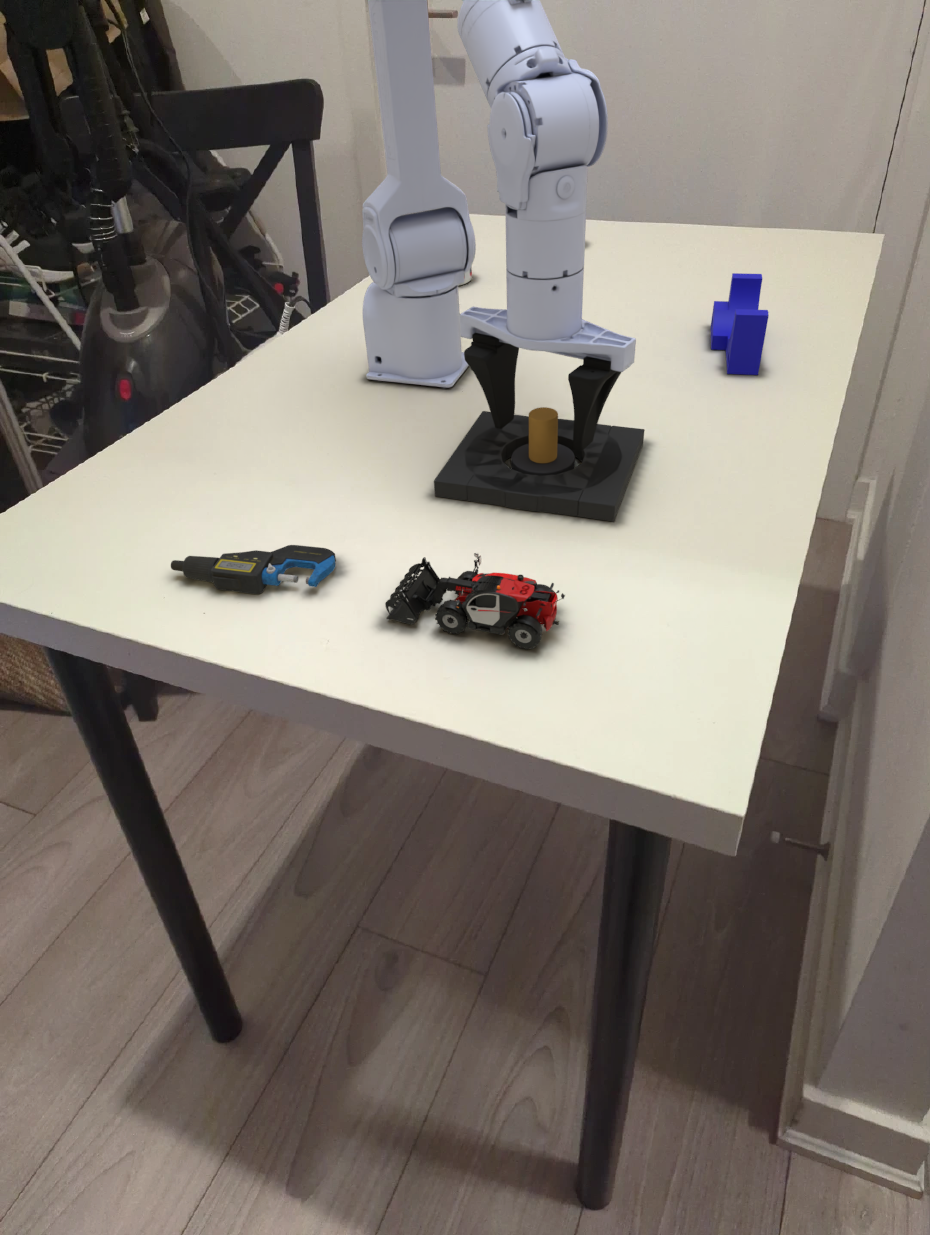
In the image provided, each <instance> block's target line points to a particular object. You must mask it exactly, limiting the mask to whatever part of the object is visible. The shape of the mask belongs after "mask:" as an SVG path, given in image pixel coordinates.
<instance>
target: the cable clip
mask: <svg viewBox="0 0 930 1235" xmlns="http://www.w3.org/2000/svg"><path fill="white" fill-rule="evenodd" d="M730 280H731V281H730V286H729V293H728V294H729V295H728V301H727V300H726V301H725V300H722V301H721V300H714V301H713V305H712V313H711V320H710V322H711V323H710V350H716V351H725V364H726V375H747V376H748V375H749V376H759V371H760V366H761V360H762V355H763V350H764V344H765V339H766V332H767V327H768V322H769V317H770V316H769V310H768V309H759V307H760V305H759V304H760V298H761V292H762V291H761V290H762V285H763V284H762V283H763V274H762V273H737V272H736V273H735V272H734V273H731V279H730Z"/></svg>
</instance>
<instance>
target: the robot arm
mask: <svg viewBox="0 0 930 1235" xmlns="http://www.w3.org/2000/svg"><path fill="white" fill-rule="evenodd" d="M461 1H462V4H461V6H460V8H459V12H458V16H457V26H456V28H457V33H458V35H459V38H460V40H461V43H462V44H463V48H464V49H465V52H466V54H467V56H468V59H469V61H470V64H471V66H472V68H473V71H474V73H475V76H476V78H477V79H478V82H479V84H480V86H481V89H482V91H483V93H484V97H485V99H486V100H487V103H488V106H489V108H490V112H489V122H488V123H489V124H488V123H487V126H486V128H487V138H488V145H489V150H490V154H491V158H492V161H493V164H494V167H495V171H496V172H495V173H496V190H497V191H496V192H497V193H498V199H499V201H500V202H501V203H504V205H505V206H504V208H505V210H504V212H505V265H506V266H505V268H506V269H505V275H506V308H488V307H487V308H486V307H479V306H475V305H473V306H471V307H469V308H468V309H466V310H464V311H462V312H461V311H460V294H459V293H460V292H459V286H460V285H459V284H462V283H464V273H466V272H468V271H469V270H470V268H471V266H473V263H474V261H475V257H476V250H477V247H476V245H477V244H476V235H475V230H474V226H473V223H472V221H471V216H470V211H469V204H468V199H467V195H466V194H465V192H464V191H463V190H462V189H461V188H460V187H458V185H456V184H455V183H453V182H452V181H450V180H449V179H448V178H446V177H445V176H443V175H442V168H441V157H440V156H441V154H440V144H439V142H440V141H439V131H438V130H439V129H438V121H437V108H436V94H435V83H434V82H435V81H434V70H433V68H434V67H433V58H432V57H433V56H432V46H431V45H432V44H431V33H430V32H431V31H430V21H429V8H428V0H367V5H368V15H369V23H370V33H371V42H372V50H373V58H374V67H375V77H376V84H377V94H378V95H377V96H378V100H379V101H378V103H379V111H380V112H379V113H380V118H381V119H380V120H381V129H382V138H383V139H382V140H383V147H384V155H385V156H384V157H385V164H386V173H387V174H386V175H385V177H384V179H383V180H382V181H381V182H380V184H379V185H377V187H376V188H375V189H374V190H373V192H372V193H370V194H369V196H368V197H367V198H366V199H365V201H364V202H363V203H362V211H361V213H362V214H361V215H362V235H361V247H362V254H363V255H362V256H363V260H364V264H365V268H366V270H367V272H368V275H369V277H370V279H371V280H372V282H371V283H370V284H369V285H368V287H367V289H366V291H365V293H364V297H363V301H362V302H363V303H362V325H363V333H364V341H365V349H366V357H367V364H368V372H367V373H366V376H365V377H366V379H367V380H370V381H371V380H372V381H383V382H390V383H399V384H408V385H409V384H410V385H421V386H428V387H438V388H453V386H454V385H455V384H456V382H457V381H458V380H459V379H460V377H461V376H462V375H463V374H464V372H465V371H466V370H467V369H468V367H469V368H470V369H471V371H472V372H473V375H474V376H475V377H476V379H477V381H478V383H479V386H480V387H481V390H482V392H483V394H484V397H485V399H486V401H487V405H488V408H489V412H491V415H492V418H493V422H494V425H495V428H499V429H502V428H503V427H504V426H506V425H507V424H508V423H510V422H511V421H512V420H513V419H514V415H515V410H516V372H517V364H518V357H519V351H520V349H522V350H527V351H535V352H546V353H551V354H556V355H559V356H564V357H570V358H574V359H578V360H581V361H582V360H583V361H582V364H580V365H578V366H577V367H576V368H575V369H573V370H572V371H571V372H569V373H568V376H567V380H568V383H569V387H570V393H571V397H572V405H573V420H574V429H573V443H574V449H577V450H583V449H585V448H586V447H587V446H588V445H589V444H590V443H591V442H592V441H593V438H594V434H595V430H596V427H597V424H599V420H600V417H601V414H602V411H603V409H604V407H605V404H606V402H607V400H608V397H609V395H610V393H611V392H612V389H613V388H614V386H615V384H616V383H617V380H618V379H619V377H620V376H621V374H622V373H623V372H624V371H626V370H628V369H629V368H630V367H631V366H632V365H633V364H634V363H635V358H636V346H637V345H636V344H637V338H636V337H631V336H627V335H624V334H621V333H618V332H614V331H612V330H610V329H607V328H605V327H603V326H599V325H597V324H595V323H593V322H591V321H588V320H585V319H583V305H584V304H583V302H584V278H585V277H584V276H585V274H584V273H585V252H586V251H585V250H586V228H587V226H586V225H587V200H588V181H589V180H588V178H589V168H588V167H592V166H594V165H596V163H597V162H598V161H599V160H600V158H601V157H602V154H603V152H604V150H605V147H606V143H607V138H608V131H609V115H608V113H609V112H608V107H607V102H606V98H605V94H604V92H603V89H602V85H601V82H600V80H599V78H598V77H597V76H596V74H595V73H594V72H593V71H591V70H589V69H587V68H583V67H581V66H580V65H579V63H578V61H577V59H573V58H571V59H568V57H566V56H565V54H564V51H563V49H562V47H561V45H560V44H561V43H559V40H558V38H557V36H556V34H555V31H554V29H553V26H552V24H551V23H550V22H551V21H550V20H549V17H548V15H547V12H546V11H545V9H544V6H543V4H542V2H541V0H461ZM438 208H439V209H438ZM432 209H433V210H432ZM458 285H459V286H458ZM460 312H461V313H460ZM462 338H463V339H467V340H472V341H470V342H471V343H470V346H468V347H467V348H466V349H464V351H463V350H462Z"/></svg>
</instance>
